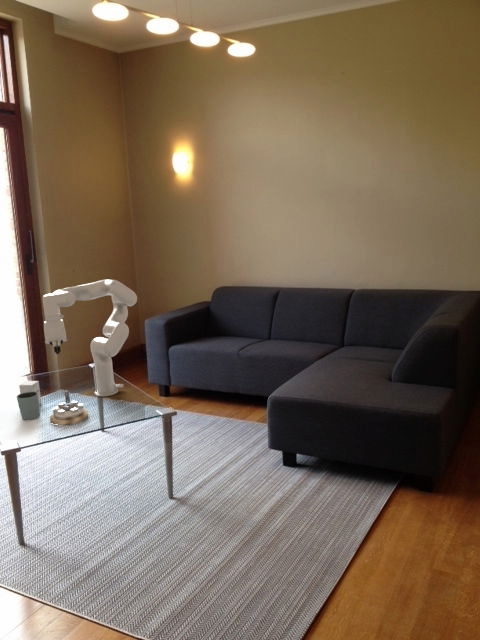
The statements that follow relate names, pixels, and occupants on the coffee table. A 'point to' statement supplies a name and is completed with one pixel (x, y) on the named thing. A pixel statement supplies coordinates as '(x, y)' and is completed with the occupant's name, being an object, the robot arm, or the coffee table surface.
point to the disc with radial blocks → (68, 409)
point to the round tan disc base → (70, 421)
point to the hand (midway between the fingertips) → (57, 353)
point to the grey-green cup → (28, 405)
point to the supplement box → (31, 388)
